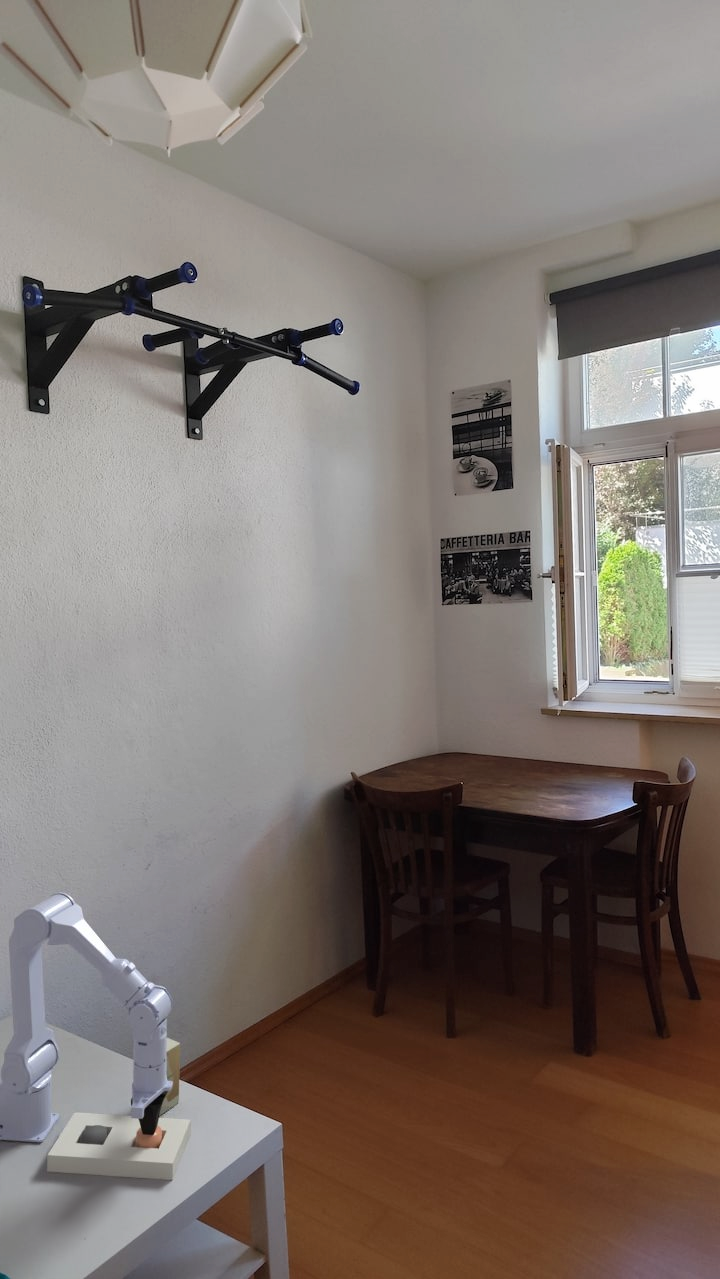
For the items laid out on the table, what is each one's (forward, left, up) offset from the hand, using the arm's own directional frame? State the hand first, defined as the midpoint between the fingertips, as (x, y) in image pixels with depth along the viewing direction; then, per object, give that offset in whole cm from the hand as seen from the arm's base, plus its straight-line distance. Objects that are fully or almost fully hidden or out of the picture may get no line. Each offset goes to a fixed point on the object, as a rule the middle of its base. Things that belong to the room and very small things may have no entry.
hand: (149, 1132), depth 153 cm
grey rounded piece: (-10, 0, -4) cm, 11 cm away
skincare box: (-2, +14, -4) cm, 15 cm away
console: (-5, 0, -4) cm, 6 cm away
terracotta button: (0, 0, -3) cm, 3 cm away
